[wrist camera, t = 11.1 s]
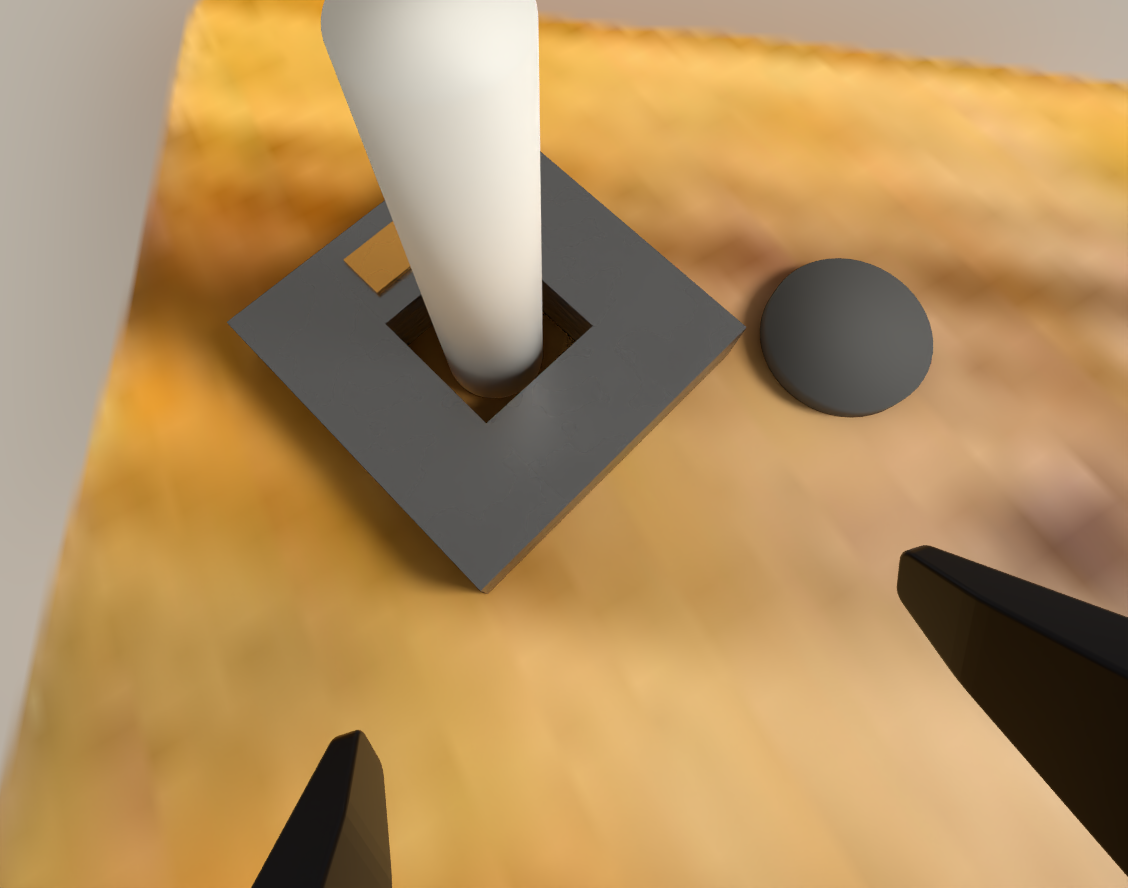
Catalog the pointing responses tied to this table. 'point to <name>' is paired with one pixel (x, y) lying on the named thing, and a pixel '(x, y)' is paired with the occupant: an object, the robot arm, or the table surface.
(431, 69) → the peg
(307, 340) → the rack plate
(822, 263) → the pad
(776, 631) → the table surface
